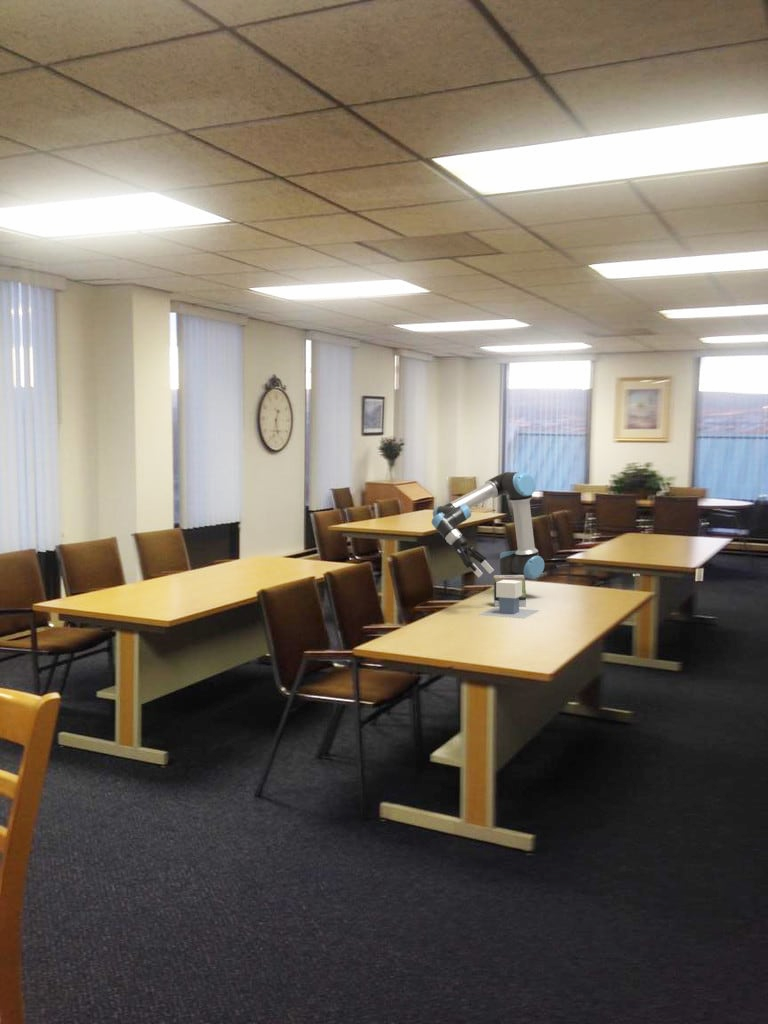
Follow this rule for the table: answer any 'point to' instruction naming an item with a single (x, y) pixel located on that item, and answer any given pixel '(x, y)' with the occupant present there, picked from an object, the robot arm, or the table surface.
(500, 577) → the tea box
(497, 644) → the table surface
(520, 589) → the cap
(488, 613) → the mat
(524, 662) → the table surface
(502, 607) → the carton
